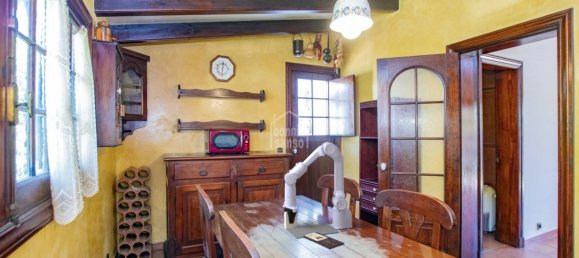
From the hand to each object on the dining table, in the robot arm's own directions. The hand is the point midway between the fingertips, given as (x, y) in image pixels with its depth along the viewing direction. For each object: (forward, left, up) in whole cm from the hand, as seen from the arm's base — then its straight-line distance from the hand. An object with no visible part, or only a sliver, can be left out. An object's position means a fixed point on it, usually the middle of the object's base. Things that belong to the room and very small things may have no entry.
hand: (290, 222), depth 155 cm
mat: (-8, +9, -2) cm, 12 cm away
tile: (0, 0, -2) cm, 2 cm away
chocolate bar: (-7, +22, -3) cm, 24 cm away
